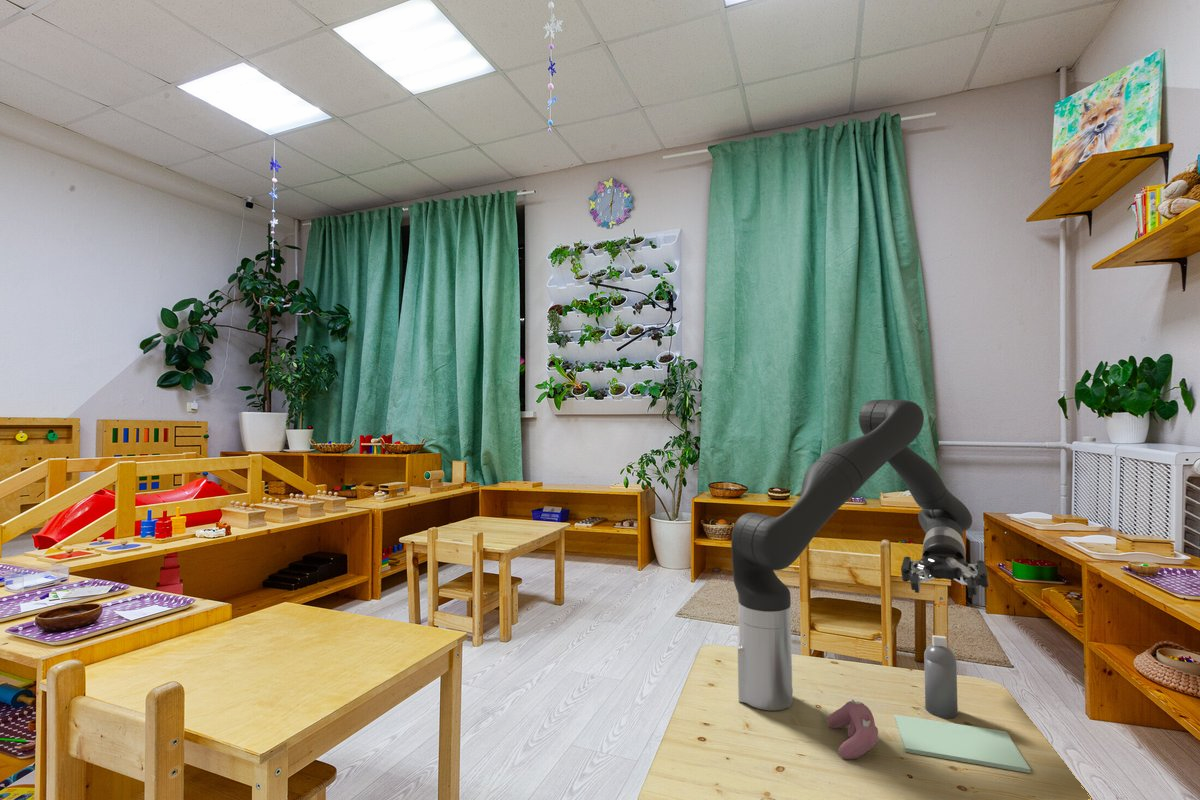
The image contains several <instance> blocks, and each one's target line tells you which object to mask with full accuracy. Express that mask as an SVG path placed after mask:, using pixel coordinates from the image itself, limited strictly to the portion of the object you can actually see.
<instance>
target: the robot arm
mask: <svg viewBox="0 0 1200 800" xmlns="http://www.w3.org/2000/svg"><path fill="white" fill-rule="evenodd" d="M924 415H925V414H924V412H923V409H922V408H921V407H920V405H919V404H917V403H916V402H914V401H911V400H906V399H872V400H868V401H866V402H865V403H864V404H863V405H862V406H861V408H860V409H859V414H858V424H859V425H858V426H859V428H860V430H861V432H862V434H863V435H861V436H859V437H856V438H854V439H851V440H849V441H846V442H843V443H841V444H839V445H836V446H834V447H832V448H830V449H828V450H827V451H826V452H825V453H823V454H822V455H821V456H820V457H818V459H817V460H815V461H814V463H812V464H811V465H810V466H809V467H808V469H807V470H806V472H805V473H804V477H803V480H802V484H801V492H800V493H801V494H800V496H799V498H798V500H797V501H796V502H795V503H794V504H793V505H792V506H791V507H790V508H789V509H788V510H786V511H785V512H784V513H782V514H781V515H779V516H771V515H767V514H763V513H762V514H761V513H756V512H747V513H745V514H742V515H741V516H740V517H738V519H737V520H736V521H735V524H734V525H733V528H732V533H731V544H730V545H731V559H732V561H731V562H732V575H733V583H734V587H735V590H736V591H737V598H738V599H737V600H738V601H737V602H738V647H737V680H738V681H737V683H738V685H737V687H738V688H737V690H738V692H737V693H738V694H737V695H738V697H737V698H738V702H740V703H745V704H747V705H749V706H751V707H753V708H756V709H759V710H763V711H764V710H765V711H774V712H775V711H782V710H785V709H787V708H789V707H792V706H791V705H792V704H793V699H794V698H793V693H794V692H793V688H794V687H793V661H792V660H793V657H792V656H793V655H792V654H793V653H792V649H793V647H792V610H791V609H792V607H791V605H792V599H791V591H790V589H789V588H788V586H786V584H785V583H784V582H782V581H781V579H780V578H779V577H778V576H777V574H776V573H775V571H781V570H784V569H787V568H788V567H790V566H791V565H792V564H793V563H794V562H795V561H796V560H797V559H798V558H799V557H800V556H801V554H802V553H803V552H804V550H805V549H806V548H807V546H808V545H809V544H810V542H811V541H812V540H813V539H814V537H815V536H816V535H817V533H818V532H819V531H820V530H821V529H822V527H824V525H826V523H827V521H829V520H830V518H831V517H832V516H834V514H836V512H837V511H838V510H839V509H840V508H841V507H842V506H843V505H844V504H845V503H846V502H847V501H849V500H850V499H851V498H852V497H853V496H854V495H855V494H856V493H857V492H858V491H859V490H860V489H861V488H862V487H863V486H864V484H865V483H866V482H868V480H869V479H870V478H871V477H872V476H873V475H874V474H875V473H876V472H877V471H879V470H880V469H881V468H882V467H883V466H884V465H885V464H886V463H888V464H889V465H890V466H891V468H893V470H894V471H895V472H896V473H897V475H898V476H899V477H900V478H901V480H902V481H903V483H904V485H905V486H906V488H907V490H908V491H909V494H911V496H912V498H913V500H914V501H915V503H916V504H917V506H919V507H920V508H921V509H920V511H919V512H918V516H917V518H918V523H919V525H920V526H921V529H922V530H923V532H924V533H925V536H924V539H923V546H922V555H921V558H920V559H919V560H912V558H911V557H910V556H905V557H903V560H902V563H901V567H900V573H901V579H902V581H903V582H905V583H907V582H909V583H910V589H911V590H912V591H914V593H917V594H920V591H921V590H920V589H921V583H923V582H925V583H927V582H930V581H932V580H934V579H935V580H937V579H938V580H940V579H941V580H954V581H956V582H957V583H959V584H961V585H962V586H963V585H966V586H967V596H968V598H974V596H977V595H978V587H980V586H981V587H982V588H989V579H988V572H987V568H986V564H985V561H984V560H976V563H968V562H967V560H966V553H967V552H966V547H965V543H964V533H963V532H965V531H968V530H969V529H970V528H971V526H972V523H973V517H972V514H971V512H970V510H969V509H968V508H967V506H966V505H965V504H964V503H963V502H962V501H961V500H960V499H958V498H957V497H956V496H955V495H954V494H953V493H951V491H949V489H947V487H946V485H945V483H944V482H943V480H942V478H941V476H940V475H939V473H938V471H937V470H936V469H935V468H934V467H933V466H932V464H930V462H928V461H927V460H926V459H924V458H923V457H922V456H920V454H918V453H916V452H915V451H914V450H913V449H911V448H910V447H909V445H911V444H912V443H913V442H914V441H915V440H916V439H917V438H918V436H919V435H920V434H921V432H922V429H923V427H924V421H925V416H924Z"/></svg>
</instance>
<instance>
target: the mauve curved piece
mask: <svg viewBox="0 0 1200 800" xmlns="http://www.w3.org/2000/svg"><path fill="white" fill-rule="evenodd" d="M826 723H827V725H828V727H830V728H831V729H834V730H838V729H842V728H845V727H848V729H847V735H848V737H849V738H848V739H846V740H845V741H843V742H842V743H841V745H840V746H839V747H838V754H839V756H840V757H841V758H842V759H844V760H854V759H857V758H860V757H861V756H863V755H864V754H865V753H867V752H868V751H869V750H870V749H873V748H874V747H875V746H876V744H878V742H879V728H878V727H877V726H876V723H875V718H874V715H873V713H872V711H871V709H870V708H869V707H868V706H867V705H866V704H865V703H863V702H861V701H856V700H854V699H851V701H847V702H845V704H844V705H843V706H841V707H839V708H838V709H837V710H835V711H833V712H832V713H831V714H829V716H828V718H827V722H826Z"/></svg>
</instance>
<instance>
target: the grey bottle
mask: <svg viewBox="0 0 1200 800" xmlns="http://www.w3.org/2000/svg"><path fill="white" fill-rule="evenodd" d="M931 637H932V644H931V645H928V646H927V647H926V649H925V650H924V652H923V653H924V654H923V659H924V661H923V663H924V665H923V666H924V670H923V671H924V704H925V706H924V708H925V710H926V711H927V712H928V713H929V714H931V715H933V716H935V717H937V718H941V719H947V720H949V719H950V720H953V719H956V718H957V717H958V716H959V713H958V712H959V710H958V709H959V707H958V678H957V677H958V672H957V666H958V665H957V658H956V655H955V653H954V652H953V651H952V650H951V648H949V647H948V642H947V640H948V639H947V636H944V635H933V634H932V636H931Z"/></svg>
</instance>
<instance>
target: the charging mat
mask: <svg viewBox="0 0 1200 800" xmlns="http://www.w3.org/2000/svg"><path fill="white" fill-rule="evenodd" d="M894 720H895V721H894V722H895V724H896V726H897V730H898V733H899V736H900V740H901V743H902V746H903V748H904V752H905V753H909V754H910V753H911V754H915V755H916V754H917V755H921V756H929V757H933V758H940V759H946V760H951V761H957V762H963V763H967V764H968V763H970V764H975V765H981V766H986V767H993V768H997V769H1004V770H1009V771H1013V772H1014V771H1016V772H1019V773H1020V772H1021V773H1028V774H1031V773H1032V772H1031V768H1030V766H1029V764H1028V763H1027V762H1026V761H1027V760H1025V758H1024V757H1023V755H1022V754H1021V752H1020V751H1019V749H1018V747H1017V745H1016V744H1015V743H1014V742H1013V741H1014V740H1012V738H1011V737H1010V735H1009V734H1008V732H1007V731H1005V730H999V729H992V728H985V727H979V726H973V725H966V724H959V723H952V722H945V721H939V720H934V719H927V718H920V717H913V716H906V715H900V714H894Z"/></svg>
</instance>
